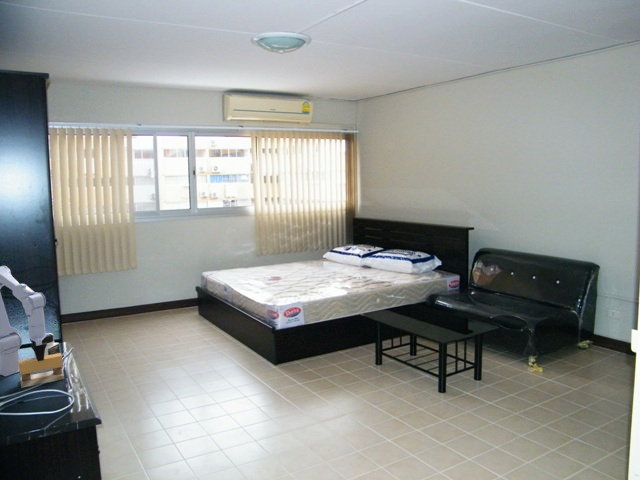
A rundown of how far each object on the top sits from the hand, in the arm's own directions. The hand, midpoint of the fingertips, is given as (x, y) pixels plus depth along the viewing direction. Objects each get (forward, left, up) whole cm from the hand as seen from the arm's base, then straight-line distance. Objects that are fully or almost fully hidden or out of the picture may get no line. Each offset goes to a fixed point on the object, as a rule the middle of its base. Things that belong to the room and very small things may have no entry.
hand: (40, 357), depth 206 cm
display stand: (0, 0, -9) cm, 9 cm away
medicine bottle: (-19, +13, -10) cm, 25 cm away
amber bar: (0, 0, -5) cm, 5 cm away
